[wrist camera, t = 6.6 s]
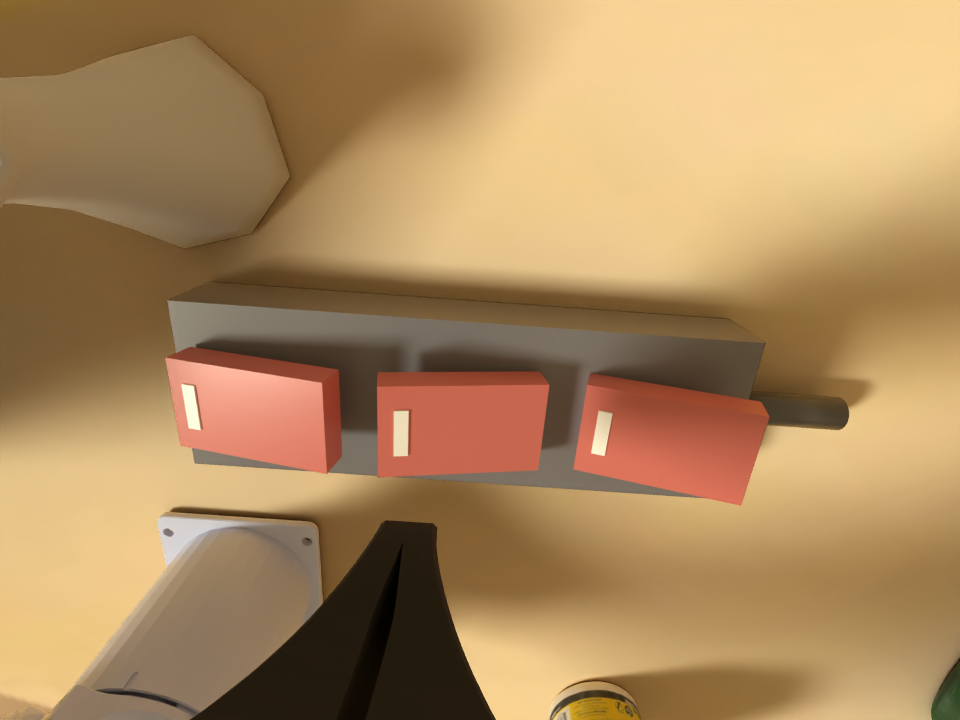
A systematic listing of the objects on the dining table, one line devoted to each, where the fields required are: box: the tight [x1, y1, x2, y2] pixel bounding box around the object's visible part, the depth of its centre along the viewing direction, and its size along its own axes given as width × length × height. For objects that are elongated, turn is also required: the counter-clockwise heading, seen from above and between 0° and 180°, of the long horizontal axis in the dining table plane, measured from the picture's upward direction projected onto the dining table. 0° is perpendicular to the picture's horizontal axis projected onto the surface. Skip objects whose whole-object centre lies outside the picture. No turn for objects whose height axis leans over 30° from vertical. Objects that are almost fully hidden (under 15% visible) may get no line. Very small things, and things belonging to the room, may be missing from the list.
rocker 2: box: [377, 371, 549, 477], centre depth 18 cm, size 4×6×1 cm, turn 86°
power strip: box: [167, 282, 849, 498], centre depth 21 cm, size 7×27×3 cm, turn 86°
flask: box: [0, 34, 290, 248], centre depth 15 cm, size 7×7×10 cm
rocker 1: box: [165, 347, 342, 474], centre depth 18 cm, size 4×6×1 cm, turn 86°
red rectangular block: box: [574, 373, 769, 505], centre depth 18 cm, size 4×6×1 cm, turn 86°
